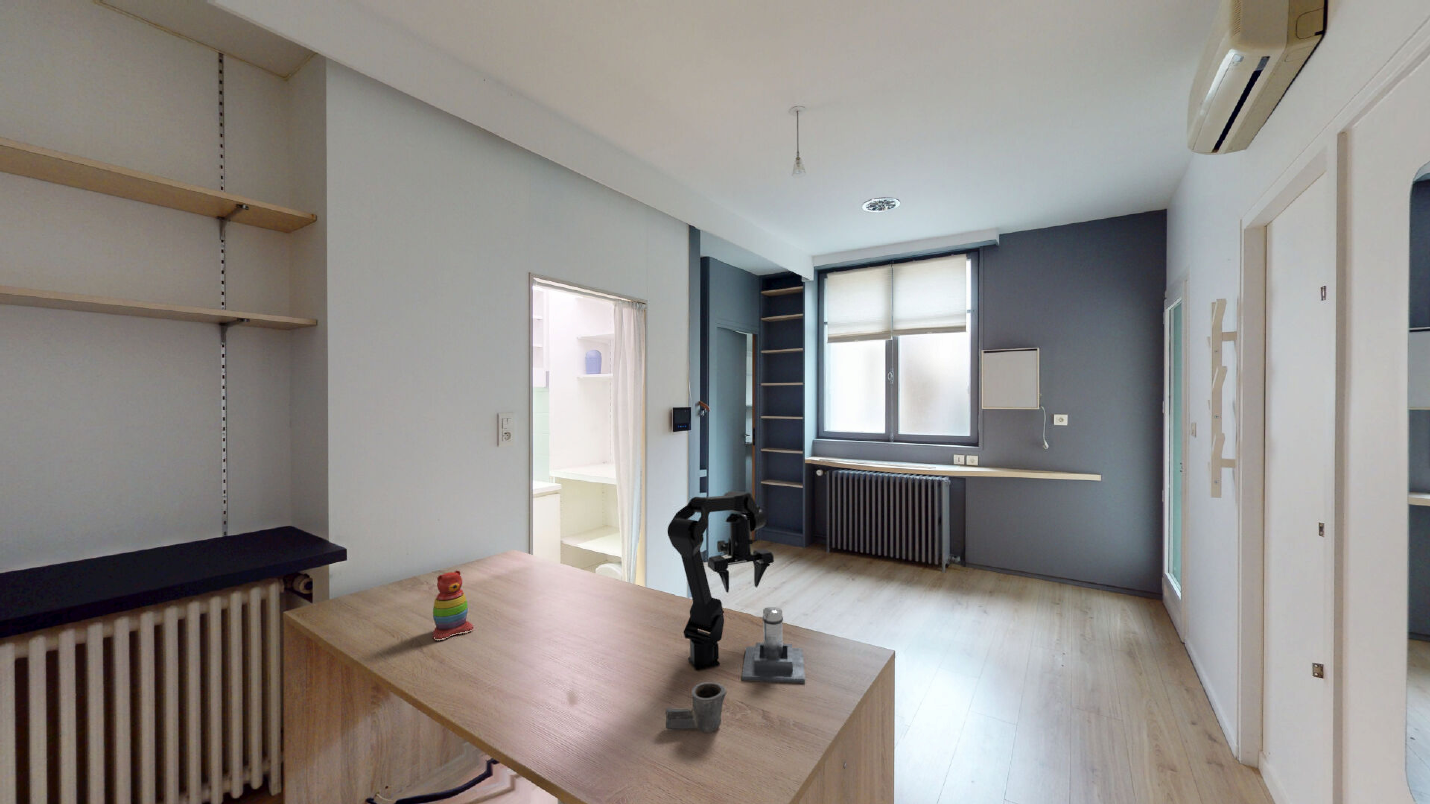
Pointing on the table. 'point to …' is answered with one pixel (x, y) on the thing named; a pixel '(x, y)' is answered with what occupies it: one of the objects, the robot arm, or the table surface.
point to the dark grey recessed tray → (774, 665)
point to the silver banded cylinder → (773, 633)
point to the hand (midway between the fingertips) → (741, 589)
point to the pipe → (699, 709)
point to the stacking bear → (450, 606)
